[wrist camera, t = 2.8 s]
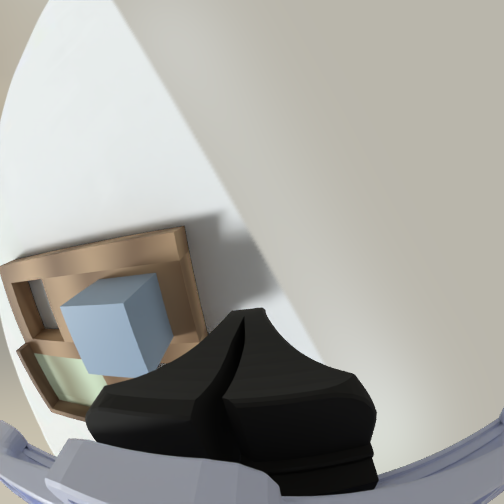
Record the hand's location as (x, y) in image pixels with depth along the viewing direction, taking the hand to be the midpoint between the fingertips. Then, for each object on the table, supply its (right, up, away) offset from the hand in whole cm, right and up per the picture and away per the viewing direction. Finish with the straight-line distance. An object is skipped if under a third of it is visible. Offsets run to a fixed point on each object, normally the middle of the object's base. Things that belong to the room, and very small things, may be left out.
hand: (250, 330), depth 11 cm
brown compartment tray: (-11, -3, +7) cm, 14 cm away
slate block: (-7, 0, +4) cm, 8 cm away
